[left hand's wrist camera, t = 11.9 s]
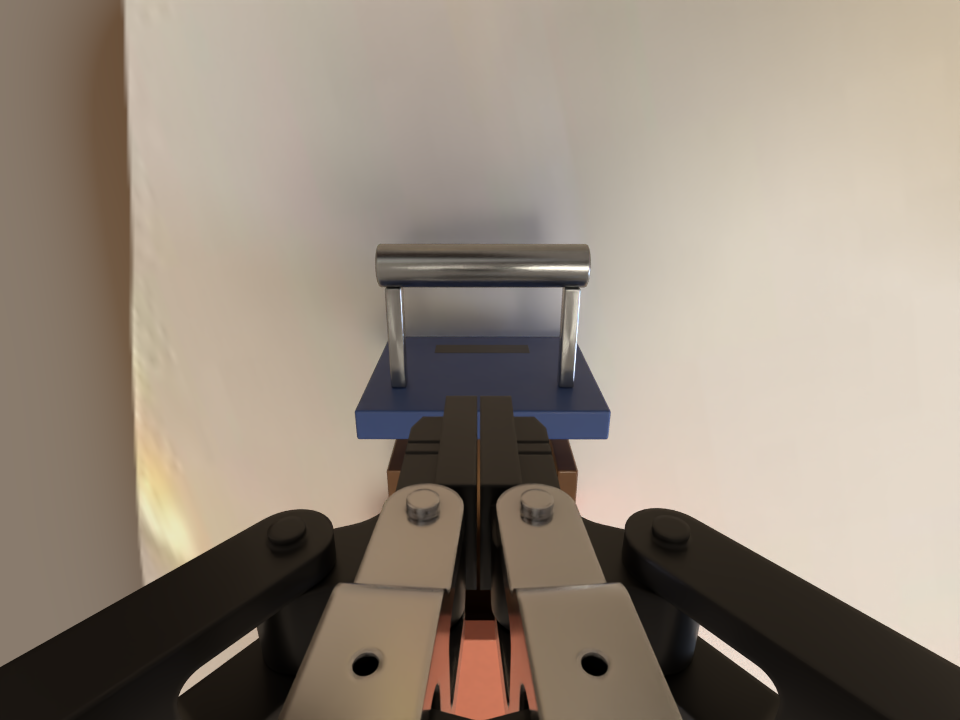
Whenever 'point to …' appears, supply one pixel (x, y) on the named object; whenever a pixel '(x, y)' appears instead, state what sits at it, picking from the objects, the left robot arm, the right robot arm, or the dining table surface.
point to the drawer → (484, 358)
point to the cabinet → (479, 673)
